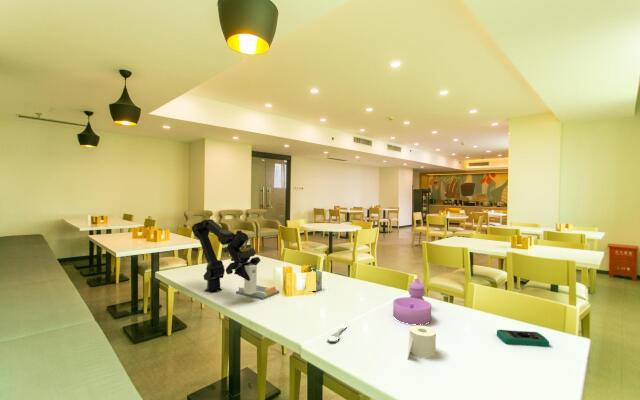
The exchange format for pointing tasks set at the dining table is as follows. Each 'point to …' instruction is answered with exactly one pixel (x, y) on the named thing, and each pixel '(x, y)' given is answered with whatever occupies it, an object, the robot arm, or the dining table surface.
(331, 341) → the spoon
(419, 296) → the container set
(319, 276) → the ink box
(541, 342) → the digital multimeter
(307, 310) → the dining table surface
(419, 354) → the toilet paper
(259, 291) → the rail mount
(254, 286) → the rail module
